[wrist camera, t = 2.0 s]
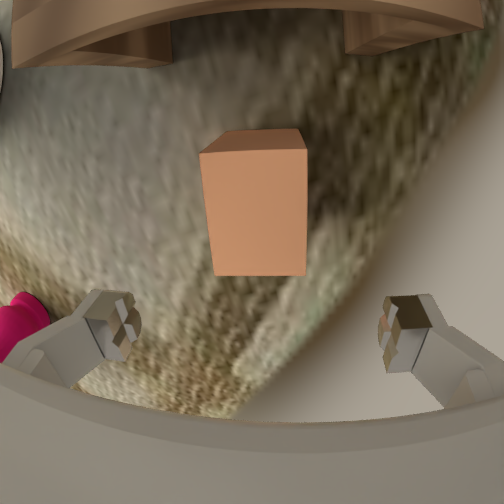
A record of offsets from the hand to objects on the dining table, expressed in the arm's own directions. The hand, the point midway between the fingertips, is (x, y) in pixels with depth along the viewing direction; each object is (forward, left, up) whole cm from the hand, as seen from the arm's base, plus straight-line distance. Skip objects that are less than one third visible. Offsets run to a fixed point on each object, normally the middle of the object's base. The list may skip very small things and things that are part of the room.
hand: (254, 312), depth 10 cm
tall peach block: (0, 0, -15) cm, 15 cm away
